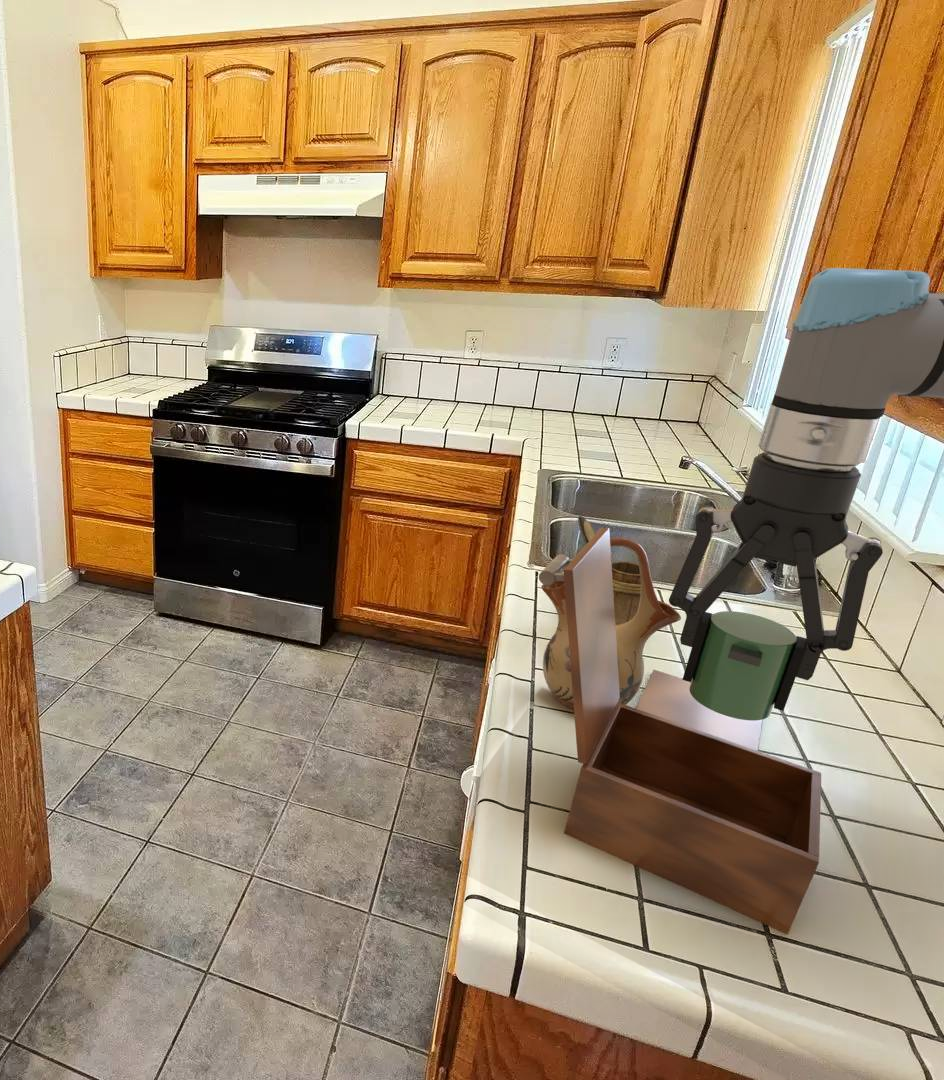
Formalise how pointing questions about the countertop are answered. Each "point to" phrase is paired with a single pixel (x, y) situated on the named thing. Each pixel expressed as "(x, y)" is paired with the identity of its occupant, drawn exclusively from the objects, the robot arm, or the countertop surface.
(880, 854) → the countertop surface
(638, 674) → the ceramic vessel
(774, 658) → the pot
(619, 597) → the wooden mug
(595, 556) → the chest lid
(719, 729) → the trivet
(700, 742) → the chest
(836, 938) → the countertop surface
